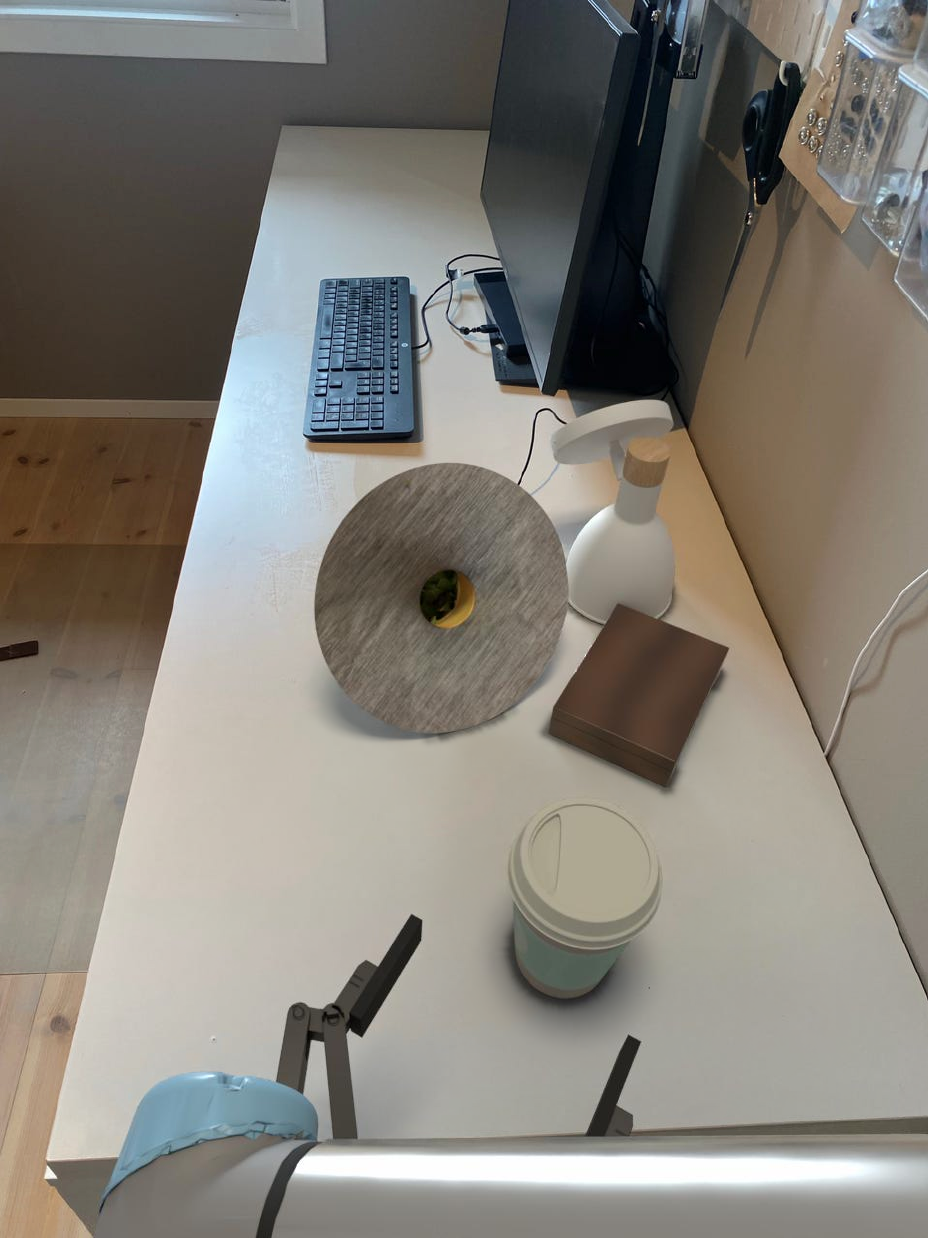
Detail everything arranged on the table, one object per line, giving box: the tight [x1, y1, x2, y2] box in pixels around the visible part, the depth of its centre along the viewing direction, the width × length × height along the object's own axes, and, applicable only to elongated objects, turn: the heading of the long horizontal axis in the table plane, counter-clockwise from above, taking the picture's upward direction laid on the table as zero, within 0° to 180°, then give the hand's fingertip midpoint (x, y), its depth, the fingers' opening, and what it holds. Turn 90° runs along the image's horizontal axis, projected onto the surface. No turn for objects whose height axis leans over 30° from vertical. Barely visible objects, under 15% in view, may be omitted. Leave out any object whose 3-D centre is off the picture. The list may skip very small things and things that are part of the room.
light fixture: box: [549, 399, 676, 625], centre depth 95 cm, size 13×21×20 cm
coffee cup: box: [506, 797, 663, 999], centre depth 66 cm, size 11×11×15 cm
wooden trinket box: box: [547, 603, 730, 788], centre depth 88 cm, size 12×16×4 cm
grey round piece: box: [313, 462, 569, 734], centre depth 89 cm, size 25×18×25 cm
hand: (519, 984), depth 52 cm, fingers open, 13 cm apart
